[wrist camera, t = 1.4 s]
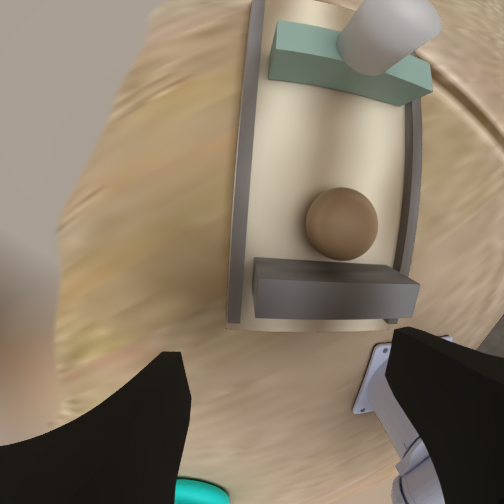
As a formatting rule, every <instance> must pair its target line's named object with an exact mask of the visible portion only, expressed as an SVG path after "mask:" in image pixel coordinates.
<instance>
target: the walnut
mask: <svg viewBox="0 0 504 504" xmlns="http://www.w3.org/2000/svg"><path fill="white" fill-rule="evenodd" d="M306 228H307V233H308V236H309V239H310V241H311V243H312V244H313V246H314V247H315V248H316V249H317V250H318V251H319V252H320V253H321V254H322V255H324V256H326V257H328V258H330V259H333V260H337V261H348V260H353V259H356V258H358V257H360V256H362V255H363V254H364V253H366V252H367V251H368V250H369V249H370V247H371V246H372V244H373V243H374V241H375V239H376V236H377V232H378V218H377V214H376V211H375V208H374V207H373V205H372V203H371V202H370V201H369V199H368V198H367V197H366V196H364V195H363V194H362V193H360V192H358V191H356V190H354V189H351V188H345V187H338V188H333V189H329V190H327V191H325V192H323V193H322V194H320V195H319V196H318V197H317V198H316V199H315V200H314V201H313V203H312V204H311V206H310V208H309V210H308V214H307V219H306Z"/></svg>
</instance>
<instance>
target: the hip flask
mask: <svg viewBox="0 0 504 504" xmlns="http://www.w3.org/2000/svg"><path fill="white" fill-rule="evenodd" d="M476 351H479V352H482V353H486V354H489V355H493V356H498V357H502V358H504V315H503V316H502V318H501V319H500V320H499V322H498V323H497V324H496V325H495V327H494V328H493V329H492V331H491V332H490V333H489V335H488V336H487V337H486V339H485V340H484V341H483V342H482V344H481V345H480V346H479V348H478V349H477V350H476Z"/></svg>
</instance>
